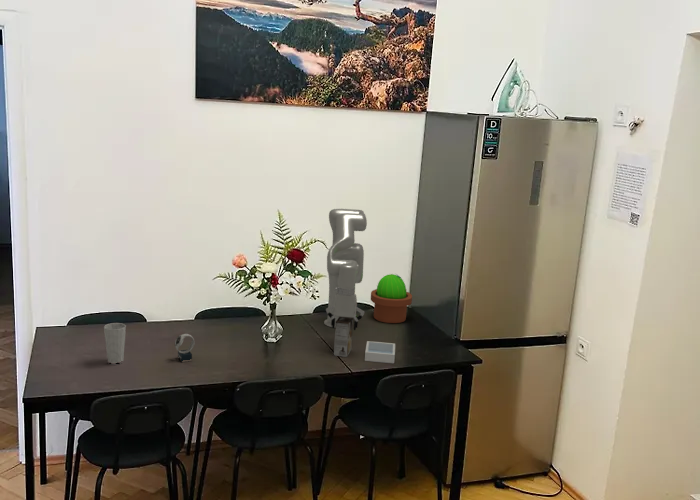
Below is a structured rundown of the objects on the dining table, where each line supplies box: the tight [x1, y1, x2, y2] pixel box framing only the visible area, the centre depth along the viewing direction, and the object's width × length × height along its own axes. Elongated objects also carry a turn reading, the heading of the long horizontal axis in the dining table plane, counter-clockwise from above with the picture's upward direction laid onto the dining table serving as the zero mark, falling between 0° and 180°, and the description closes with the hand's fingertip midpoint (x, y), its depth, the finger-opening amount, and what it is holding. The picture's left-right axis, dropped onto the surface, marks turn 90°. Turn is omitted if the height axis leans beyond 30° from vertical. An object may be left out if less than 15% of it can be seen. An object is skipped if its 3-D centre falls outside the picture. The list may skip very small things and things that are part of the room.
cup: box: [103, 322, 127, 363], centre depth 253 cm, size 8×8×16 cm
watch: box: [174, 333, 196, 362], centre depth 260 cm, size 6×8×11 cm
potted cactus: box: [370, 273, 413, 324], centre depth 329 cm, size 22×22×25 cm
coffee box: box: [333, 317, 354, 358], centre depth 278 cm, size 9×6×16 cm
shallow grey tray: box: [364, 340, 396, 364], centre depth 278 cm, size 14×13×4 cm
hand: (344, 328), depth 276 cm, fingers open, 9 cm apart
